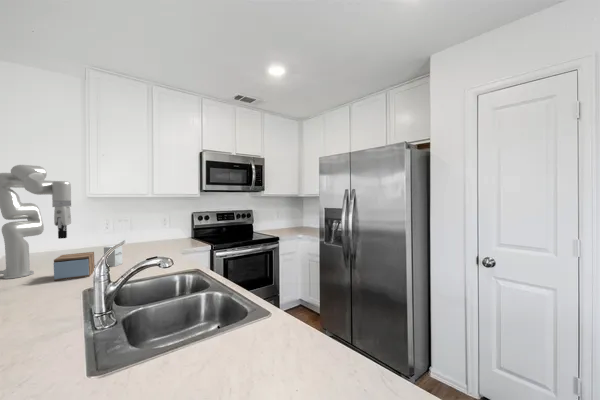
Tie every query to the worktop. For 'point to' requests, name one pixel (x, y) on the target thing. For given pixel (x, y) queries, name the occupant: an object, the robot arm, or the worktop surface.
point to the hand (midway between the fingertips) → (62, 238)
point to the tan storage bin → (77, 257)
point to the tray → (71, 269)
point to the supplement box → (114, 256)
